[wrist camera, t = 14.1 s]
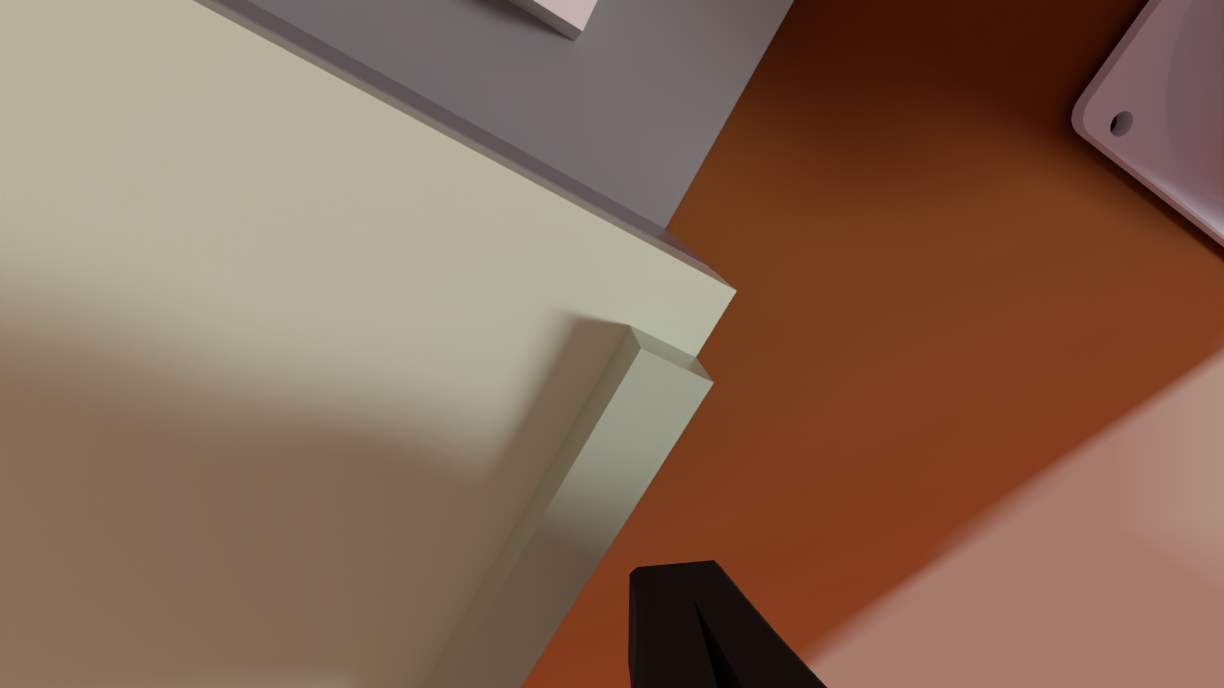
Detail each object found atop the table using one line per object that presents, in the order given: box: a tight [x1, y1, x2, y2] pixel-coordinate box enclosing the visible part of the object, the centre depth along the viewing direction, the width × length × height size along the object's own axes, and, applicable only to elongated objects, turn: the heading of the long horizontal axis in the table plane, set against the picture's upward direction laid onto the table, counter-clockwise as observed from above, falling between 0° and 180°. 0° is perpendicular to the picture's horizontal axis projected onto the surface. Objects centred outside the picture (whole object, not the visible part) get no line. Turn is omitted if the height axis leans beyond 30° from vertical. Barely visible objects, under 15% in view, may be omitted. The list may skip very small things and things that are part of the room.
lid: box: [0, 0, 736, 688], centre depth 7 cm, size 14×10×2 cm
